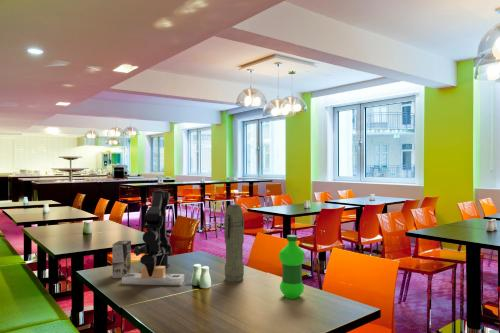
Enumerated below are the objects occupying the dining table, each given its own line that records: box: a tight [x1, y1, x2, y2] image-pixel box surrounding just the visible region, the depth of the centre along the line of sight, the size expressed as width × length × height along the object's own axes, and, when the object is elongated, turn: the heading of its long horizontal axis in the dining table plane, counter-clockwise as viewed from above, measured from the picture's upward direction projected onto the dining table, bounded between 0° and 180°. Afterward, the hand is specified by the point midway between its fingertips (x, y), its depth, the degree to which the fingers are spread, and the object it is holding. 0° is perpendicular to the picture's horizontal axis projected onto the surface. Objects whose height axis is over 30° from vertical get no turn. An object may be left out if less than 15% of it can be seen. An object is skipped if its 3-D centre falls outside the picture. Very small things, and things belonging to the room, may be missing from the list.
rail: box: [121, 272, 185, 286], centre depth 182 cm, size 7×27×3 cm, turn 86°
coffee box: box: [111, 240, 132, 279], centre depth 192 cm, size 9×6×16 cm
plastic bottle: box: [278, 234, 306, 300], centre depth 163 cm, size 10×10×25 cm
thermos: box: [223, 204, 245, 284], centre depth 185 cm, size 9×12×35 cm
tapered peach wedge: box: [140, 265, 167, 277], centre depth 182 cm, size 10×4×6 cm, turn 86°
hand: (153, 273), depth 182 cm, fingers open, 9 cm apart
